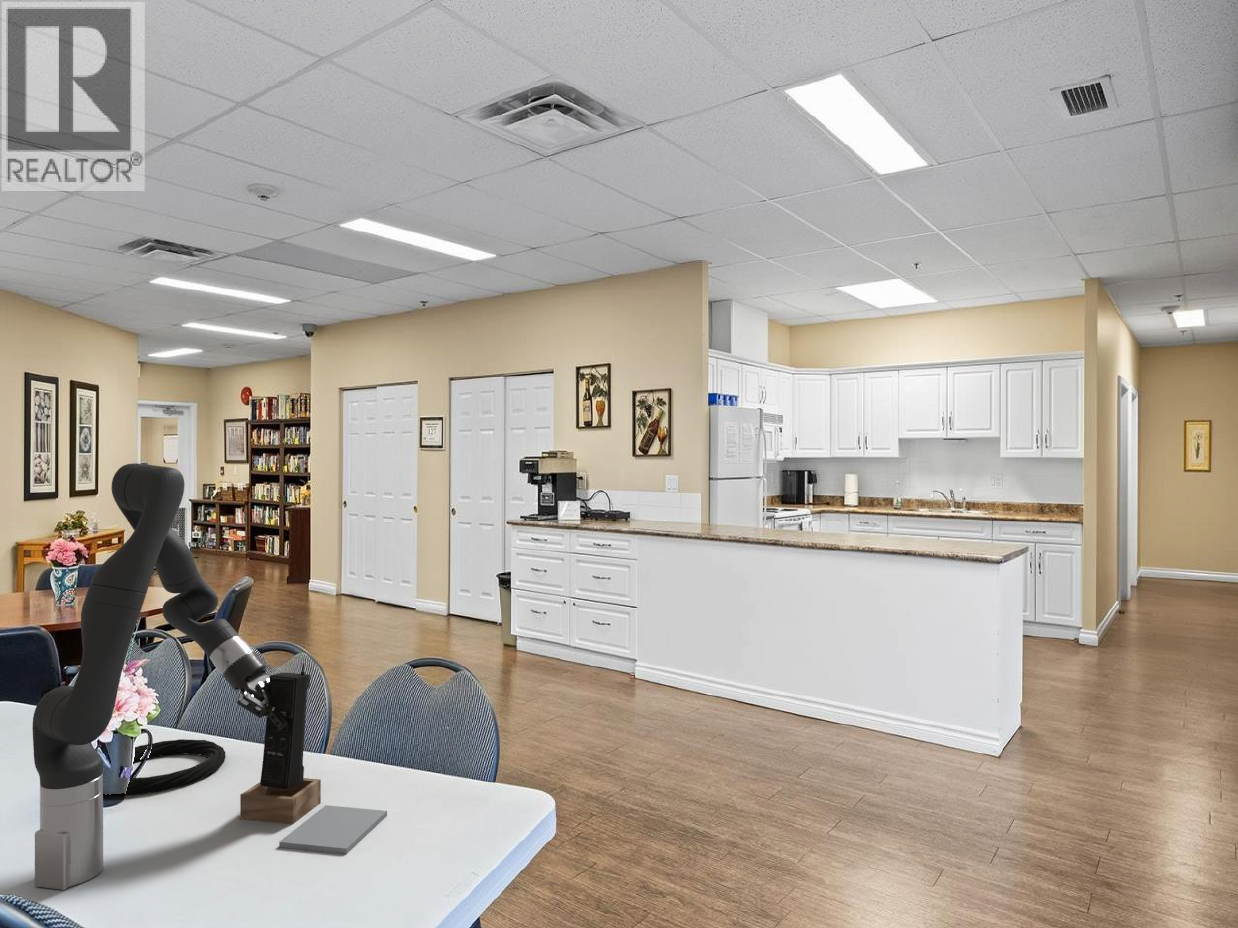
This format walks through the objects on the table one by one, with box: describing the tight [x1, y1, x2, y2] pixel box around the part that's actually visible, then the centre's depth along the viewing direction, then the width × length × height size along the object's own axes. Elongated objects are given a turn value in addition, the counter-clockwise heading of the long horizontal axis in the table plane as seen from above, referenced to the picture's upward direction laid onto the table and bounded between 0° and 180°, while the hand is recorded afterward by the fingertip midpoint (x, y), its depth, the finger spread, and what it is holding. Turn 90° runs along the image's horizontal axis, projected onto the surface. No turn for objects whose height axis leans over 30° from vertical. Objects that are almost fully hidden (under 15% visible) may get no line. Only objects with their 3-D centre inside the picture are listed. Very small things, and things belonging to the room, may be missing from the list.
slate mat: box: [278, 804, 388, 855], centre depth 156 cm, size 16×14×1 cm
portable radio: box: [259, 663, 311, 789], centre depth 166 cm, size 8×6×25 cm
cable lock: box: [125, 739, 226, 796], centre depth 184 cm, size 28×4×30 cm
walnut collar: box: [239, 777, 322, 825], centre depth 164 cm, size 10×12×5 cm
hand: (288, 724), depth 164 cm, fingers closed on portable radio, 2 cm apart
